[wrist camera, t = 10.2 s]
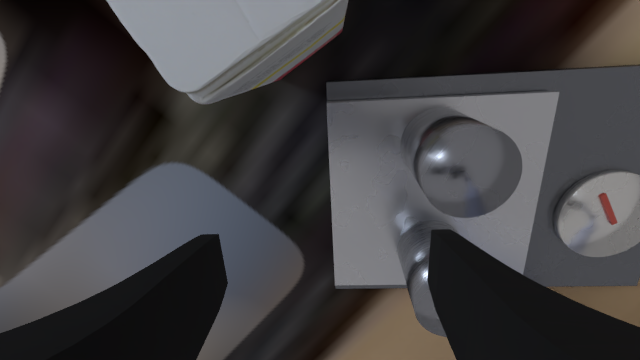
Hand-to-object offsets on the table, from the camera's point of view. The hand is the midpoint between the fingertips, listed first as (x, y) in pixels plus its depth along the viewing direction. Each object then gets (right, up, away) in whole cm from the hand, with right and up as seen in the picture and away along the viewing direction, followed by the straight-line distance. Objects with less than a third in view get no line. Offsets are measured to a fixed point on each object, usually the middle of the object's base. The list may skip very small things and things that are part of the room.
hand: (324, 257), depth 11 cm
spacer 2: (+6, +5, +7) cm, 11 cm away
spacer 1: (+7, -2, +9) cm, 12 cm away
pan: (+7, +2, +9) cm, 11 cm away
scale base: (+11, +2, +10) cm, 15 cm away
